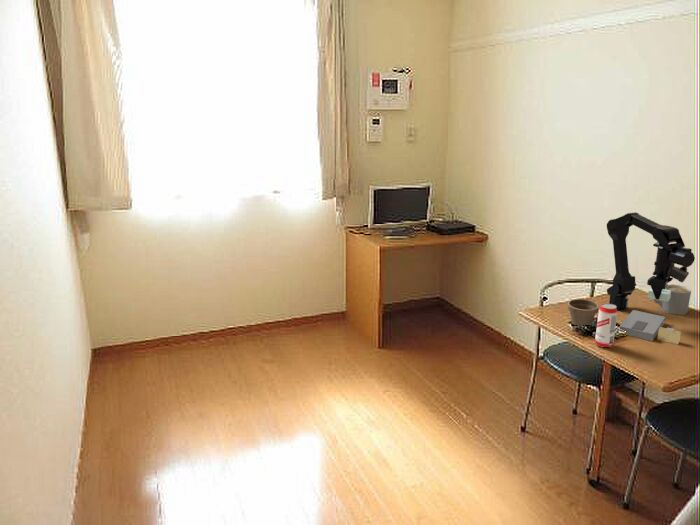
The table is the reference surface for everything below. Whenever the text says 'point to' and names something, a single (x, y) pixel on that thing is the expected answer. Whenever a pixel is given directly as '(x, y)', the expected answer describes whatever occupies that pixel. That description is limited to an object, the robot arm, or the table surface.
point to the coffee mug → (676, 300)
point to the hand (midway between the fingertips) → (659, 297)
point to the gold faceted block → (669, 335)
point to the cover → (664, 295)
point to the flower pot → (582, 311)
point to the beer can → (606, 325)
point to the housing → (642, 325)
